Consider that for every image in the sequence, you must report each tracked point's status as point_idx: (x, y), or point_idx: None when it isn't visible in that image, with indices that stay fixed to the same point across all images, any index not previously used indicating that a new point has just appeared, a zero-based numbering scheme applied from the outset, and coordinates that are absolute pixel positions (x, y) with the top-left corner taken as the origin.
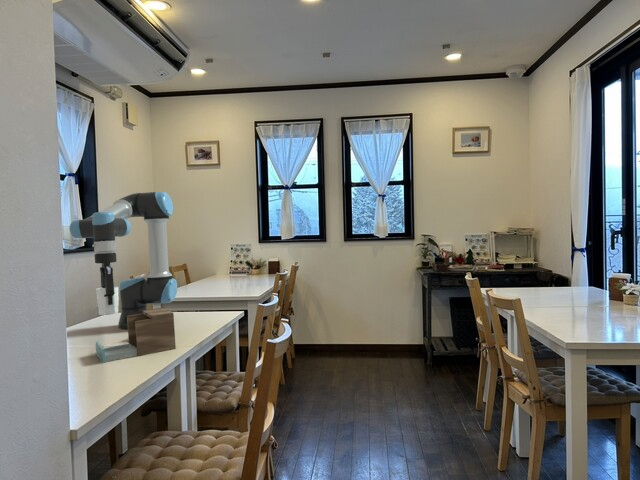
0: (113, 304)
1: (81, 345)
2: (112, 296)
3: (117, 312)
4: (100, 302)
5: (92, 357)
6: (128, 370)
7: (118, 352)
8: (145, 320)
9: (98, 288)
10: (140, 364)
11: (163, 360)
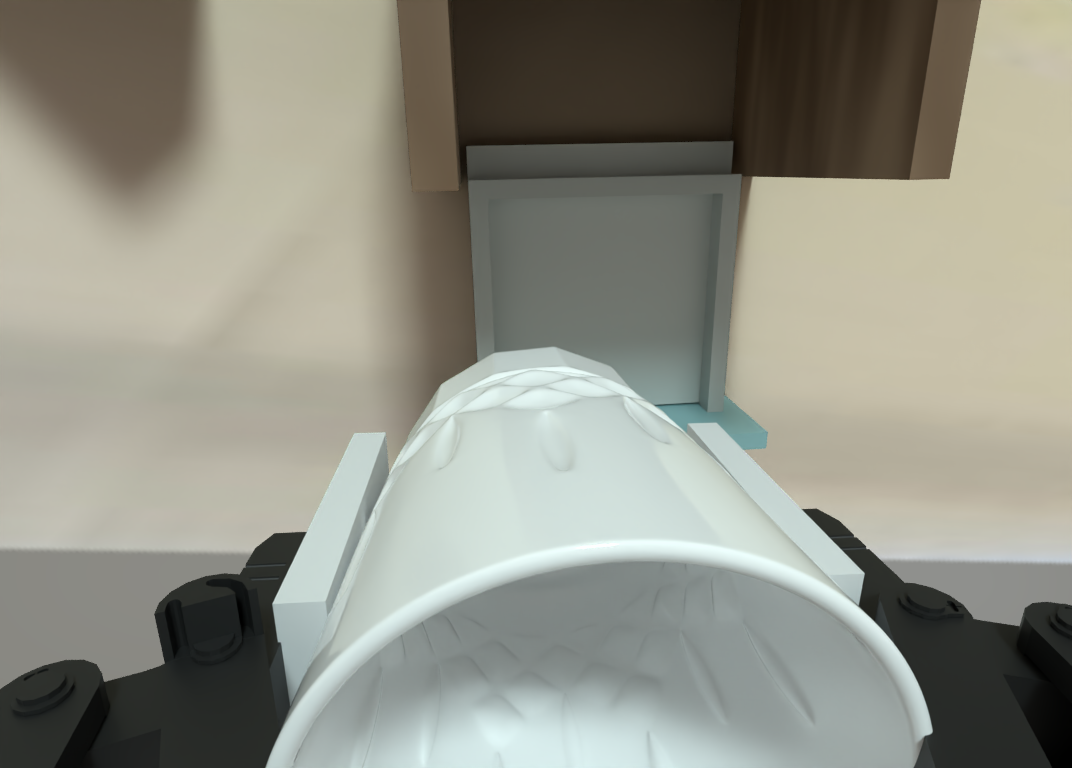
0: (770, 489)
1: (52, 497)
2: (853, 587)
3: (611, 367)
4: (659, 694)
5: None
6: (1017, 299)
7: (604, 297)
8: (970, 42)
9: None
10: (963, 207)
11: (1017, 37)
